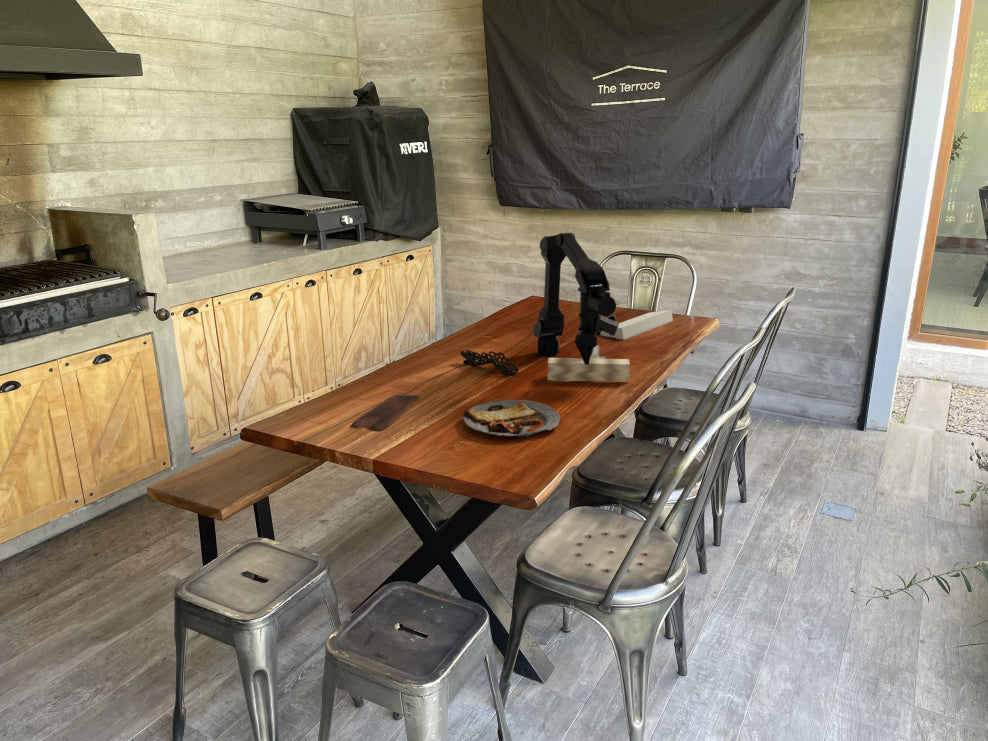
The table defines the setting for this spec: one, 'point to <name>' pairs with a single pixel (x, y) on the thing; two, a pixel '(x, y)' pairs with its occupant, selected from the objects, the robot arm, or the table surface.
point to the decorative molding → (641, 324)
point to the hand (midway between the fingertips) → (588, 359)
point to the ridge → (596, 353)
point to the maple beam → (588, 369)
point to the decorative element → (489, 361)
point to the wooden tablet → (385, 413)
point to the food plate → (510, 417)
